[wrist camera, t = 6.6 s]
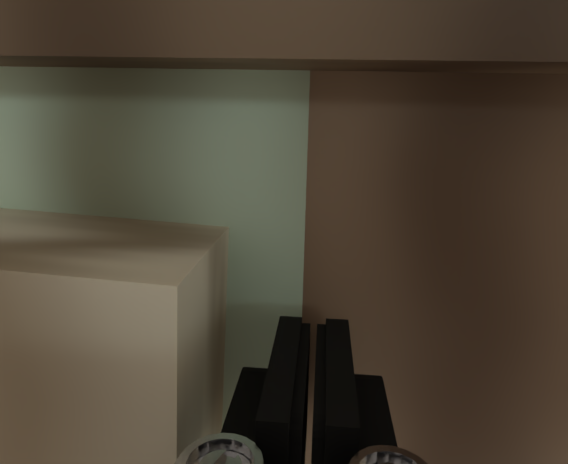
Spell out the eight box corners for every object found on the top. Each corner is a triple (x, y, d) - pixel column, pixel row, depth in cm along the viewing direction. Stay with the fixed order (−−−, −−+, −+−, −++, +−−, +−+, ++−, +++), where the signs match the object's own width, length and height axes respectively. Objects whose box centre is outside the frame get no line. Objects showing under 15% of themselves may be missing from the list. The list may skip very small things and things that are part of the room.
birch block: (229, 227, 11) (177, 286, 7) (221, 437, 12) (176, 582, 9) (-7, 207, 11) (-179, 253, 7) (13, 414, 13) (-120, 542, 9)
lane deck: (614, 51, 13) (852, -4, 7) (527, 510, 17) (635, 716, 11) (-190, 43, 15) (-520, -4, 9) (-98, 457, 19) (-287, 609, 13)
